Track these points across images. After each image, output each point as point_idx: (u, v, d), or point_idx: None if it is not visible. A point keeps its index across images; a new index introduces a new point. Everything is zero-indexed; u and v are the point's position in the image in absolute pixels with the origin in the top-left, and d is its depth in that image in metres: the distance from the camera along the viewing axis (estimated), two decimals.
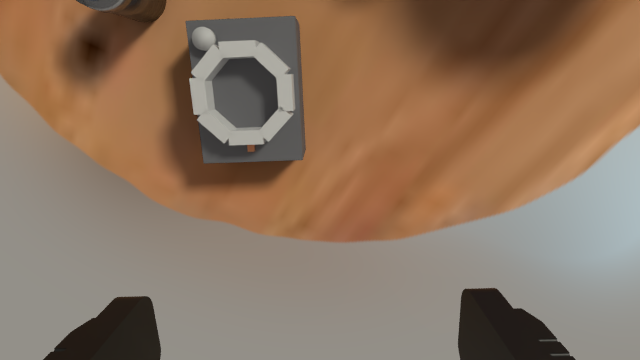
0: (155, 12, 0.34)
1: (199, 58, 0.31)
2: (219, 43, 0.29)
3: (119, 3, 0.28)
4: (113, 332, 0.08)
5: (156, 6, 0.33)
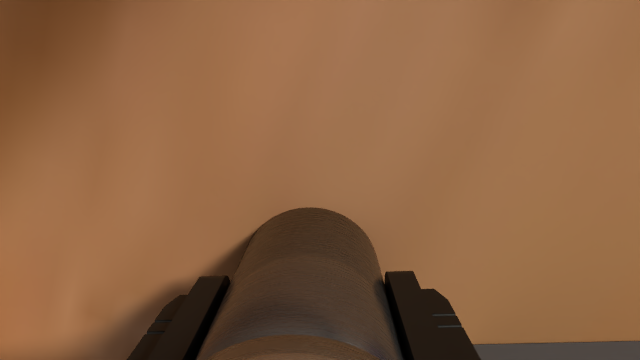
0: None
1: None
2: None
3: None
4: (210, 304, 0.09)
5: None
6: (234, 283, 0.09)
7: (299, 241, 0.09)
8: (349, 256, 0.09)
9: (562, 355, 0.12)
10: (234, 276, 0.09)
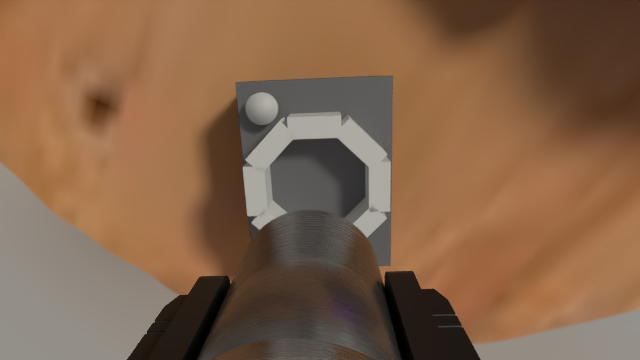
0: None
1: (253, 132, 0.22)
2: (288, 119, 0.20)
3: None
4: (210, 305, 0.09)
5: None
6: (234, 286, 0.09)
7: (299, 244, 0.09)
8: (349, 259, 0.09)
9: None
10: (234, 279, 0.09)
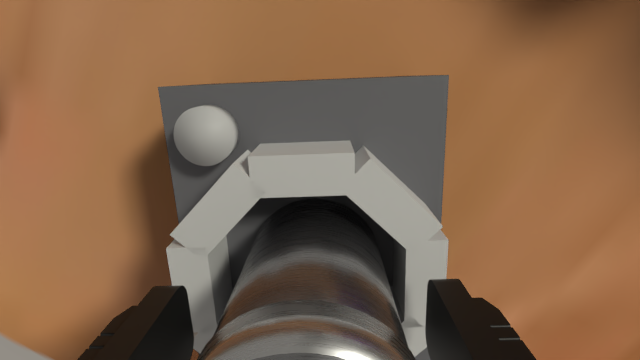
0: None
1: (194, 176, 0.12)
2: (251, 161, 0.10)
3: None
4: (157, 318, 0.08)
5: None
6: (248, 264, 0.10)
7: (307, 227, 0.10)
8: (352, 240, 0.10)
9: None
10: (247, 259, 0.10)
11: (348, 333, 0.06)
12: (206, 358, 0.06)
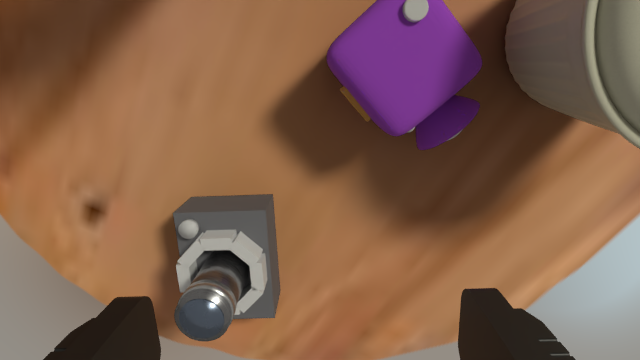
0: None
1: (185, 240, 0.36)
2: (201, 240, 0.34)
3: None
4: (113, 332, 0.08)
5: None
6: (199, 271, 0.34)
7: (217, 259, 0.34)
8: (229, 263, 0.34)
9: (213, 198, 0.40)
10: None
11: (213, 285, 0.30)
12: (185, 291, 0.30)
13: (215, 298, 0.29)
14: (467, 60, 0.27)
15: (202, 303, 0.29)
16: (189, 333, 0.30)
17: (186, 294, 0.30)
